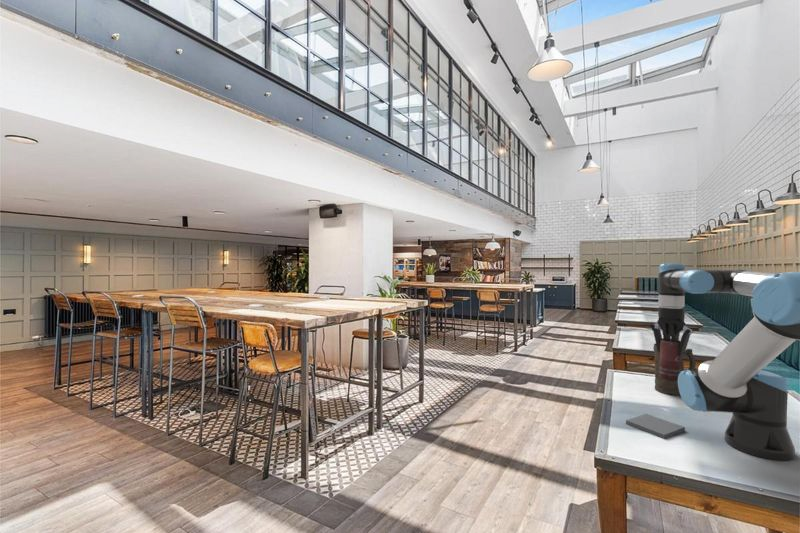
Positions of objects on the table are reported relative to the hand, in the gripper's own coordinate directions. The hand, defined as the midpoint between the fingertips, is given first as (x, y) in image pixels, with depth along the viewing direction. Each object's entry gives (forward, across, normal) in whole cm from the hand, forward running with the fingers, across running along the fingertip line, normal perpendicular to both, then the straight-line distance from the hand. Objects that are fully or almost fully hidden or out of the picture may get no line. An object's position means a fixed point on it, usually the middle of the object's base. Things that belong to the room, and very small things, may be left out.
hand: (670, 373), depth 132 cm
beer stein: (+16, +14, -31) cm, 38 cm away
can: (+2, 0, 0) cm, 2 cm away
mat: (+16, -2, +13) cm, 20 cm away
